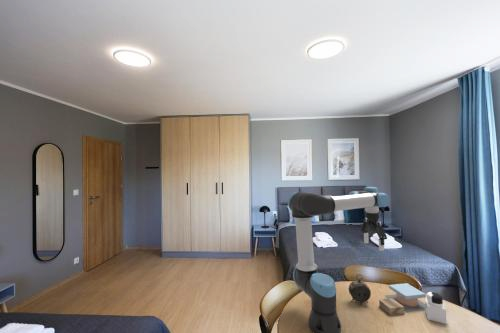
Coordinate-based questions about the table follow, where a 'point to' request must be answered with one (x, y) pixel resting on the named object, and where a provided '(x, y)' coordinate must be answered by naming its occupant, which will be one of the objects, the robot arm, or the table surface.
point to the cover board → (407, 291)
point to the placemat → (407, 309)
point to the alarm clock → (359, 291)
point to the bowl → (407, 301)
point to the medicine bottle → (435, 308)
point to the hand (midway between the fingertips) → (373, 246)
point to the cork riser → (391, 306)
